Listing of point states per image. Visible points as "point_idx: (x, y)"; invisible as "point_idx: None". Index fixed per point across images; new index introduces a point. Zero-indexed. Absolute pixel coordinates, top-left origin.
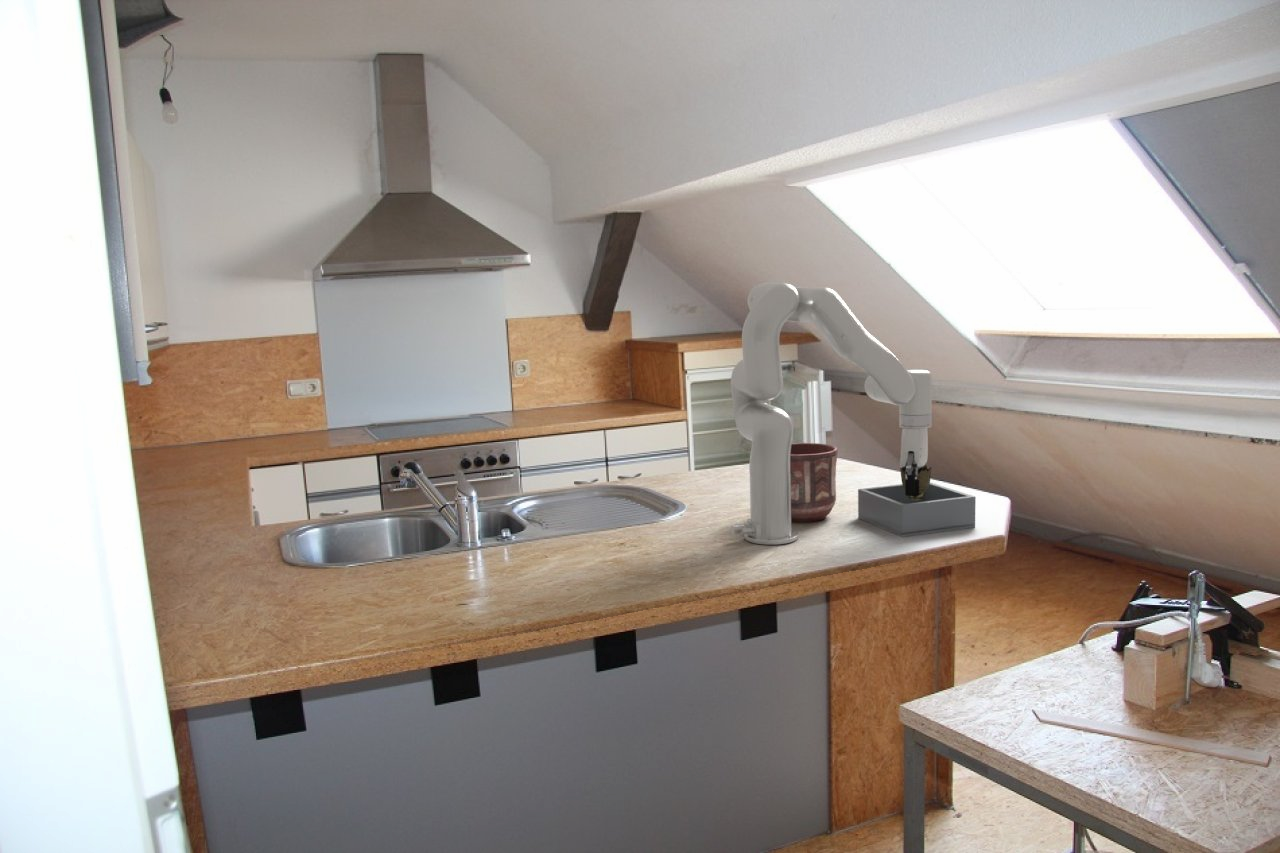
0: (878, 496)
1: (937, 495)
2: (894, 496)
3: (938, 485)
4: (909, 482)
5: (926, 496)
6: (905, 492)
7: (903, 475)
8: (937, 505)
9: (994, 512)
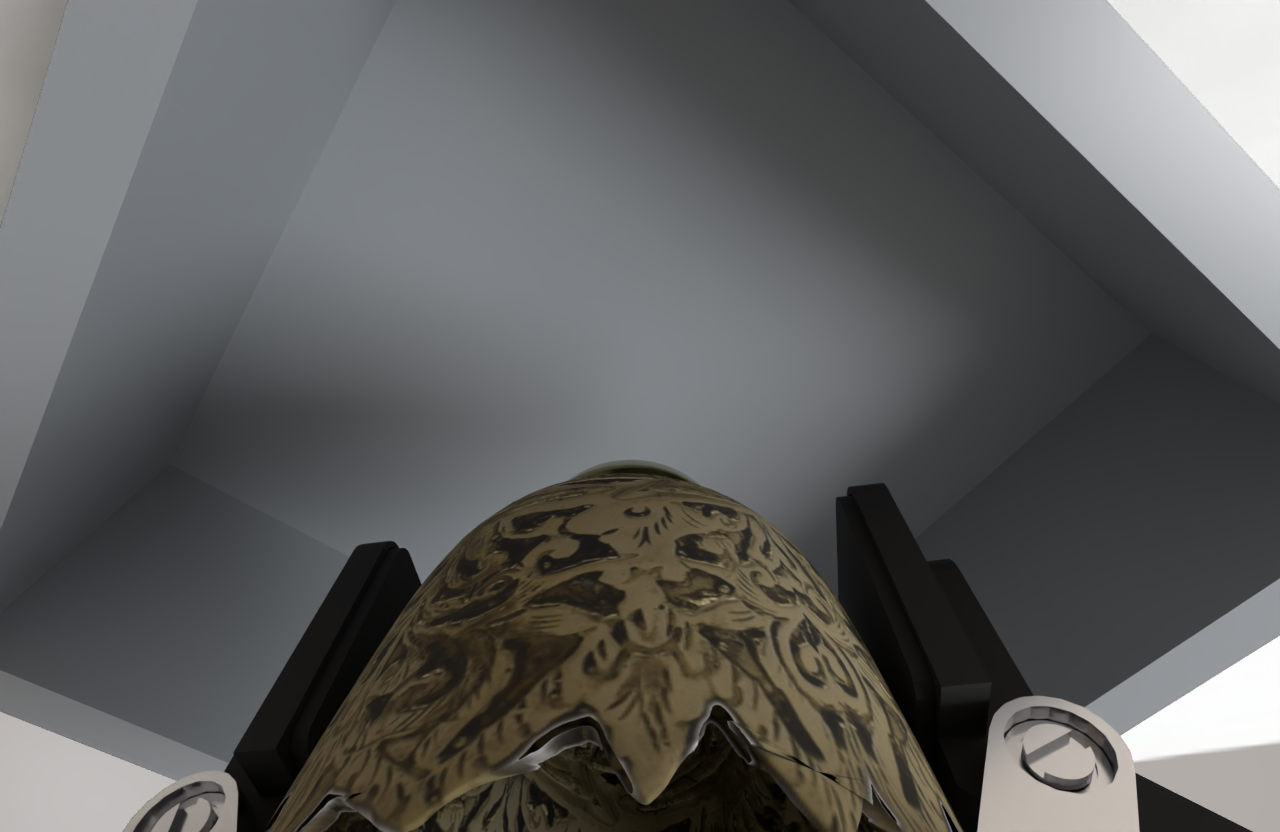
0: (23, 185)
1: (1060, 593)
2: (952, 94)
3: (1200, 672)
4: (240, 780)
5: (1219, 409)
6: (343, 569)
7: (317, 745)
8: None
9: (1166, 738)
